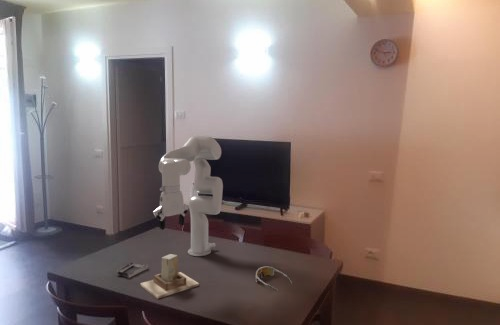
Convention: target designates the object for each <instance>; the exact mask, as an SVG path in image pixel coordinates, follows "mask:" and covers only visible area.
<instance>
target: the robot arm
mask: <svg viewBox="0 0 500 325" xmlns="http://www.w3.org/2000/svg"><path fill="white" fill-rule="evenodd" d="M221 156H222V148H221V146H220V144H219V142H217V141H216V139H215V138H213V137H212V136H205V135H204V136H200V135H195V136H194V135H193V136H191V137H190V138H188V140H187V141H186V142H185V143H184V144H183V145H182V146H181V147H179V148H175V149H173V150H170V151H168V152H166V153H165V154H164V155H163V156H162V157H161V158H160V160H159V163H158V171H159V172H160V173H161V182H162V183H161V187H160V188H159V191H160V192H161V193H160V196H159V206H158V207H157V208H156V209H155V210H153V211H152V213H153V215H154V217H155V218H156V219H157V220H158V227H159V229H160V230H162V231H163V230H165V220H164V219H165V218H166V217H172V216H176V215H178V224H179V225H180V226H184V225H185V216H186V214H187V213H188V210H189V214H190V215H189V216H190V248H189V249H188V250H187V254H188V255H190V256H193V257H194V256H195V257H203V256H208V255H210V254H211V253H212V249H211V248H214V247H216V243H215V242H212V243H211V242H209V220H208V217H207V215H218V214H220V212H221V210H222V201H223V191H224V190H223V189H224V184H223V180H222V178H220V177H219V176H211V172H212V171H211V170H212V169H211V165H210V164H209V162H208V161H207V160H212V161H213V160H214V161H215V160H220V158H221ZM191 162H193V163H194V168H195V171H194V181H193V191H194V192H195V193H196V194H201V195H194V196H192V197H191V198H190V199H189V200H188V204H186V203H184V196H183V192H182V190H181V180H180V179H181V178H180V177H181V176H187V175H188V174H189V173H190V172H191V169H192V167H191V166H192V165H191ZM202 194H203V195H202ZM206 195H207V196H206ZM208 195H212V196H208ZM158 213H159V214H158Z"/></svg>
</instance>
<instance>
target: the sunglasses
mask: <svg viewBox="0 0 500 325" xmlns="http://www.w3.org/2000/svg"><path fill="white" fill-rule="evenodd" d="M275 272H276V273H280V274H281V275H283V276H284V277H286V278H287V280H288V281H289V282H291V283H292V281H291V279H290V278H289V276H288V275H287V274H285V272H284V273H283V271H281V270H278V269H276V268H275V267H273V266H269V265H268V266H265V265H264V266H261V267H258V269H257V270H256V272H255V283H258V281H259V282H261V283H262V284H264V285H265V286H267V287H269V288H271V289H272V290H274V289H276V290H275V291H278V288H275V287H274V286H272V285H270V284H269V283H266V282H264V281H263V280H262V279H261V278H262V277H263V276H264V277H267V276H266V275H270V276H274V274H275ZM257 279H258V280H257Z"/></svg>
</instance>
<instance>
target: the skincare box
mask: <svg viewBox="0 0 500 325" xmlns="http://www.w3.org/2000/svg"><path fill="white" fill-rule="evenodd" d="M178 261H179V260H178V254H172V253H169V254H167V255H164V256H162V257H161V273H160V274H161V279H163V280H164V281H166V282H170V281H174V280H177V273H178V272H179V271H178V270H179V269H178V268H179V267H178V263H179V262H178Z"/></svg>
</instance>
